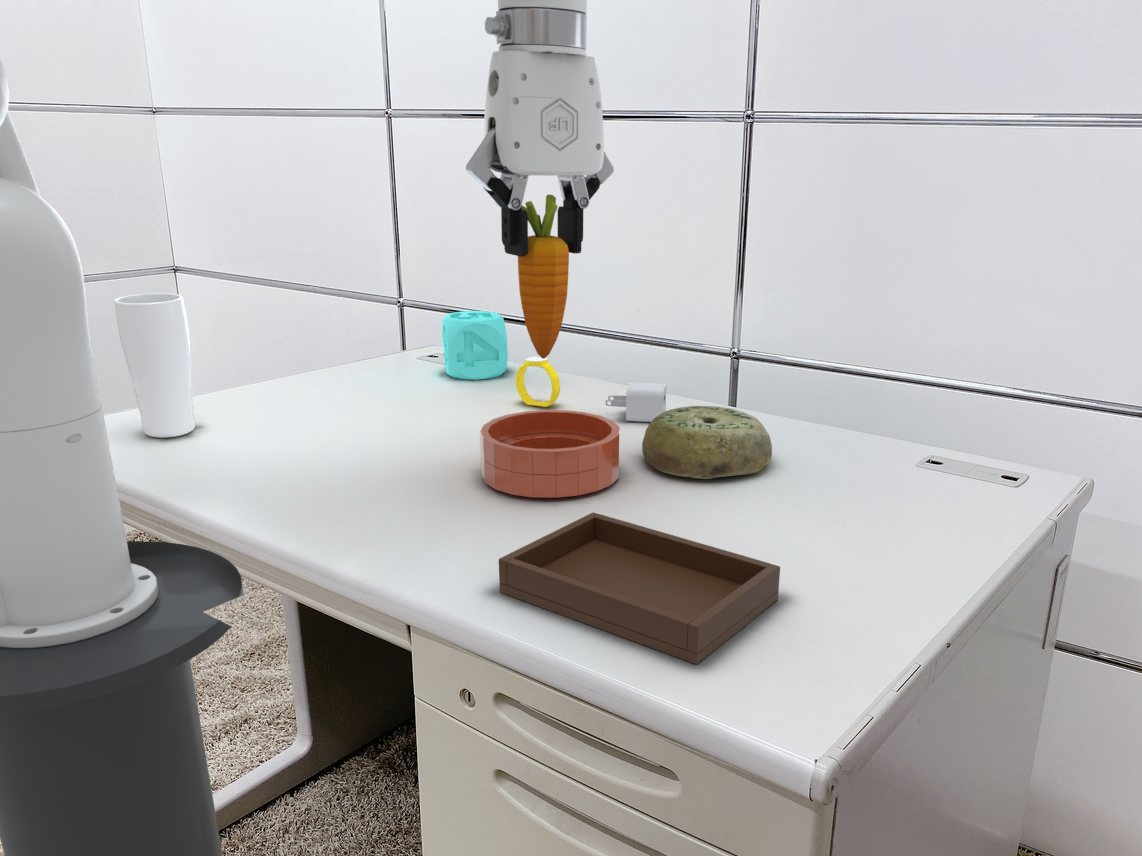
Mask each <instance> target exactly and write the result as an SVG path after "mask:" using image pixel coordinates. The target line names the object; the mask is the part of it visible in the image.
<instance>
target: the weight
mask: <svg viewBox="0 0 1142 856" xmlns="http://www.w3.org/2000/svg"><path fill="white" fill-rule="evenodd" d="M641 443H642V444H641V445H642V449H641V450H642V455H643V457H644V459H645V461H646V463H648V464H649V466H652V467H653V468H654V469H656V470H657V471H659V472H661V473H664V474H668V475H672V476H676V477H685V478H691V479H699V480H700V479H701V480H711V479H715V478H721V477H723V478H724V477H732V476H733V477H734V476H742V475H743V476H744V475H751V474H755V473H759V472H760V471H762V470H763V468H765V467H766V466H767V465H768V464H769V463H770V461H771V459H772V456H773V445H772V439H771V437H770V434H769V432H768V431H767V429H766V428H765V425H763V423H762V422H761V421H760V420H758V418H756V417H755V416H753V415H752V414H749V413H747V412H744V411H741V410H737V409H734V408H730V407H724V406H717V405H716V406H715V405H690V406H689V405H688V406H682V407H677V408H672V409H668V410H666V412H663V413H661V414H660V415H659V416H657V417H656V418H654V419H653V420H652V422H649V424H648V425H647V427H646V429H645V433H644V435H643V439H642V442H641Z"/></svg>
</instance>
